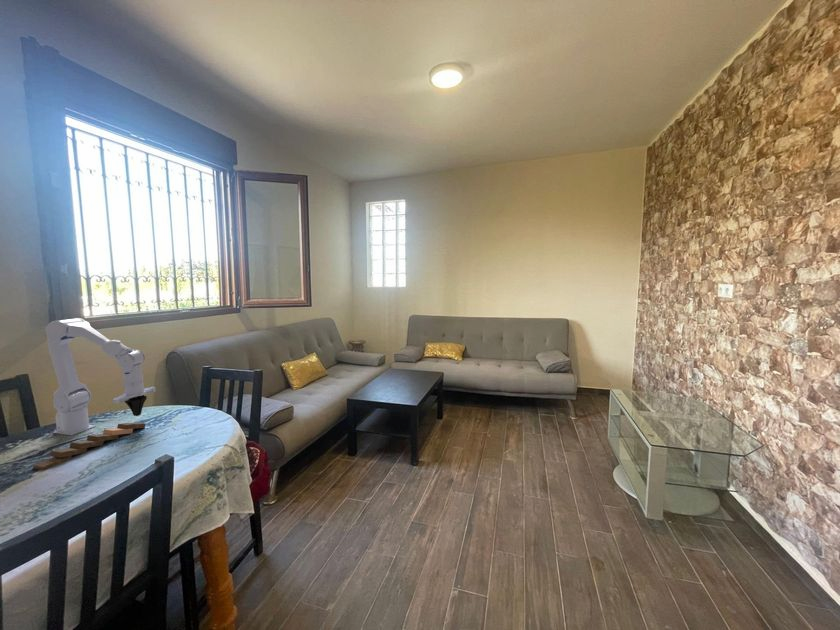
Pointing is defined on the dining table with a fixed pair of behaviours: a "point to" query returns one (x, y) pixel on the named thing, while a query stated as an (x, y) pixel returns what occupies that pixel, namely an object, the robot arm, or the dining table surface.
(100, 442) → the domino
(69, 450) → the domino
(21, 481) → the dining table surface
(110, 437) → the domino
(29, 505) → the dining table surface
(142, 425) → the domino
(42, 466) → the domino
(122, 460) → the dining table surface
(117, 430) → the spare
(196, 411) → the dining table surface
